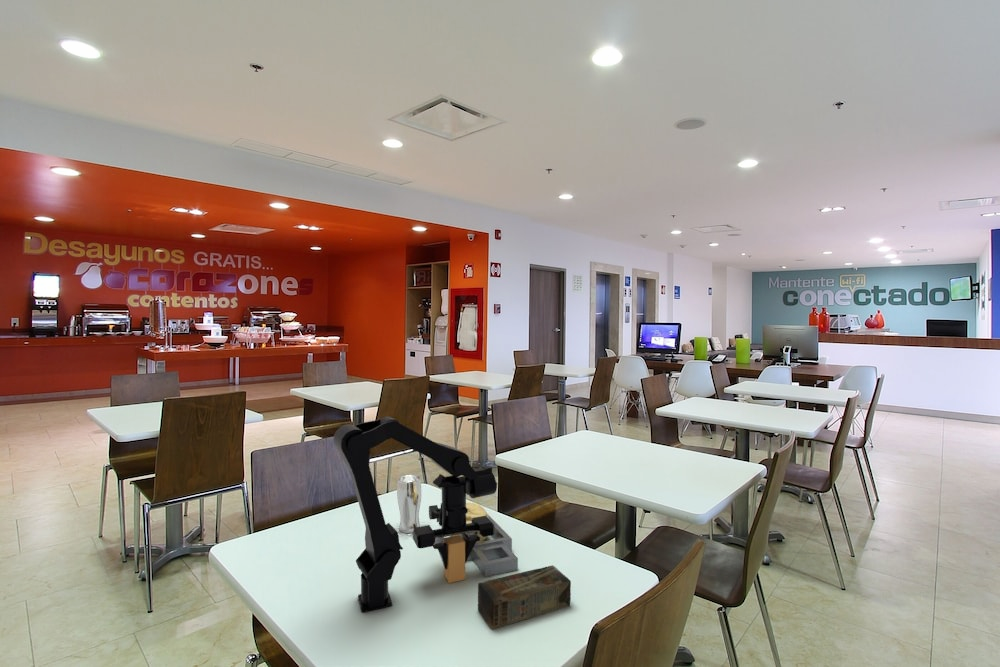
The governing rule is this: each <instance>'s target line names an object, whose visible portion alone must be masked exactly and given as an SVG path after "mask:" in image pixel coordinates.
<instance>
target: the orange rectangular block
mask: <svg viewBox="0 0 1000 667" xmlns="http://www.w3.org/2000/svg"><path fill="white" fill-rule="evenodd" d="M444 542H445V543H446V545H447V562H448V565H447V569H445V568H444V567H443V576H444V577H445V578H446V581H447V583H448V584H451V583H455V582H461V581H465V580H466V564H465V541H464V540H463V539H462V537H461V536H460V535H457V536H452V537H450V536H447V537H444Z"/></svg>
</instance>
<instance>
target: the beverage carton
mask: <svg viewBox="0 0 1000 667" xmlns="http://www.w3.org/2000/svg"><path fill="white" fill-rule="evenodd" d="M477 585H478V586H477V610H478V611H479V613H480V615H482V617H483V619H484V620H485V622H486V623H487V625H488V627H489V628H490V629H491V630H493V629H498V628H501V627H504V626H507V625H508V626H509V625H511V624H515V623H517V622H522V621H524V620H528V619H532V618H535V617H538V616H541V615H546V614H548V613H552V612H554V611H558V610H560V609H563V608H566V607H570V606H571V598H572V597H571V595H572V593H571V591H572V589H571V587H572V586H571V585H572V583H571V580H570V579H569V577H567V576H566V575H564V573H562V571H560V570H559V569H558V568H557V567H556V566H555V565H549V566H544V567H540V568H535V569H531V570H527V571H522V572H518V573H513V574H510V575H506V576H505V575H504V576H502V577H501V576H500V577H496V578H493V579H489V580H485V581H482V582H479V583H477Z"/></svg>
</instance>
